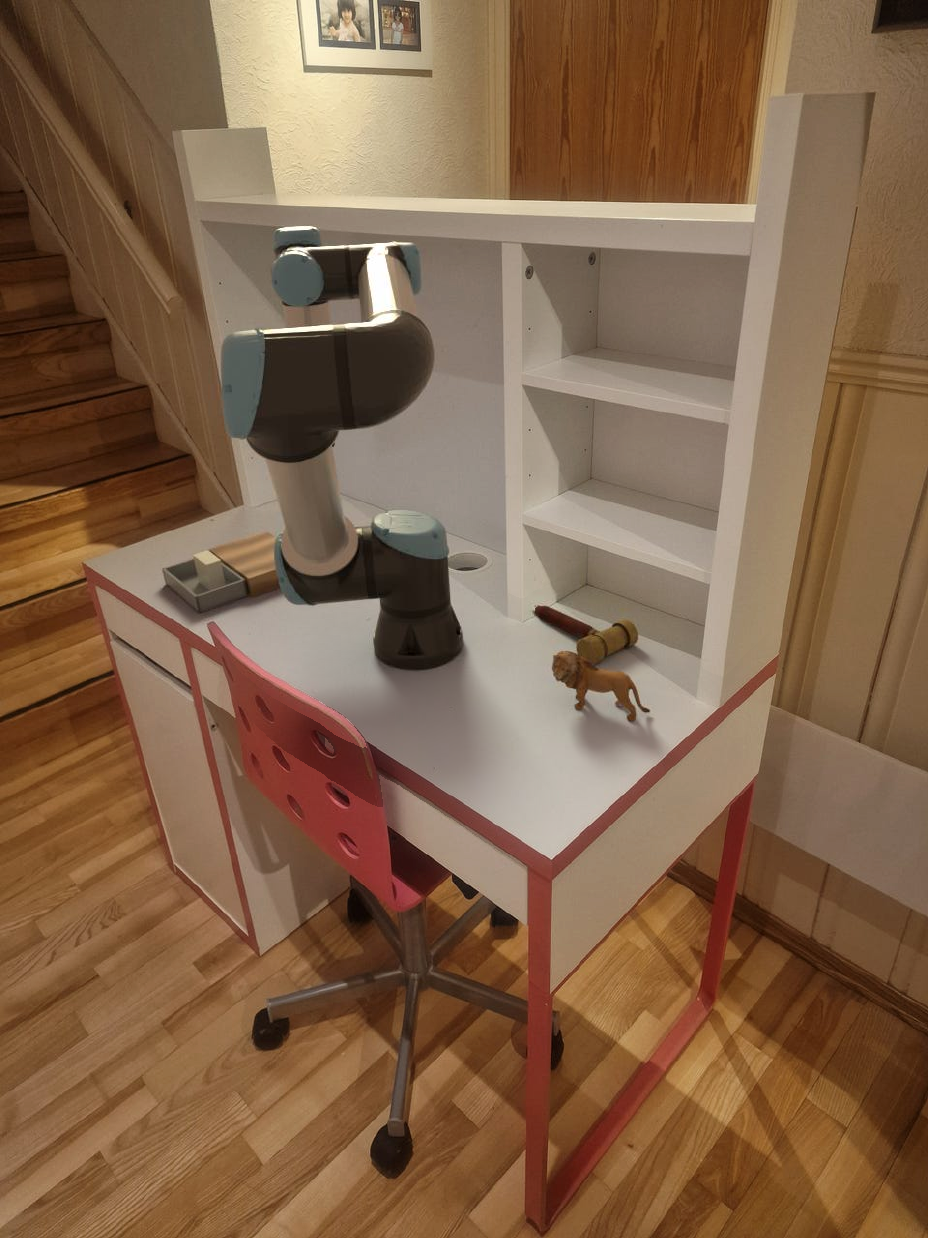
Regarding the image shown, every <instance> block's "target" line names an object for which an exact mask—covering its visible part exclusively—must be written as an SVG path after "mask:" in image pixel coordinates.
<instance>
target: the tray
mask: <svg viewBox="0 0 928 1238" xmlns="http://www.w3.org/2000/svg"><path fill="white" fill-rule="evenodd" d="M221 564H222V569H223V573H224V578H225V583H226V585H225V586H222V587H219V588H216V589H213V590H211V591H209V590H208V589H207V588H205V587H204V586H203V585H202V584H201V583H199V579H198V575H197V570H196V566H195V561H194V557H193V558H191V559H188V560H185V561H181V562H178V563H175V564H172V565H168V566H167V567H163V568H161V570H162V574H163V579H164V582H165V585H166V586H167V587H168V588H169V589H170V590H172V591H173V592H174V593H175V594H176V595H177V596H179V597H180V599H182V600H183V601H184V602H186V603H187V605H189V606H190V607H191V608H192V609H193V610H195V611H196V612H197V614H203V613H205V612H208V611H211V610H213V609H216V608H218V607H222V606H224V605H226V604H229V603H232V602H237V601H239V600H241V599H244V598H247V597H249V594H248V591H247V585H246V580H245V579H244V578H242V577H241V576H240V575H238V574H237V573H236V572H234V571H233V570H232V569H230V568H229V567H228V566H226V565H225V564H224V563H222V562H221Z"/></svg>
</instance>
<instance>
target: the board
mask: <svg viewBox="0 0 928 1238" xmlns="http://www.w3.org/2000/svg"><path fill="white" fill-rule="evenodd" d="M277 537H278V536H275V535H274V534H272V533H271V532H269V531H267V530H265V531H261V532H258V533H256V534H252V535H248V536H245V537H242V538H239V539H235V540H234V541H230V542H226V543H223V544H221V545H217V546H214V547H210V548H208V551H209V552H211V553H212V554H213V555H215V556H216V557H217V558H219V559H220V560H221V562H222V563H224V564H225V565H226V566H228V567H229V568H230V569H232V570H233V571H234V572H236V573H237V574H238V575H240V576H241V577H242V578H244V579H245V580H246V585H247V591H248V596H250V597H251V598H255V597H257V596H260V595H262V594H266V593H268V592H271V591H274V590H276V589H279V588H281V587H280V584H279V578H278V576H277V573H276V568H275V561H274V544H275V540H276V538H277ZM270 590H271V591H270ZM267 591H268V592H267ZM265 592H266V593H265Z"/></svg>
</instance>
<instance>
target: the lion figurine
mask: <svg viewBox="0 0 928 1238" xmlns="http://www.w3.org/2000/svg"><path fill="white" fill-rule="evenodd" d="M552 658H553V660H552V664H551V670H552V673H553V674H552V675H553V677H554V678H555V681H556V682H561V683H563V684H565V686H566V688H568V689H573V690H575V692H576V694H575V699H576V700H578V703H577V702H576V703H575V704H574V705H573V706H574V708H575V709H576V710H578V711H580V710H582V709H583V708H584V707H585V705H586V700H585V699H586V695H587V694H588V690H589V691H591V692H595V693H599V694H605V693H610V692H613V693H614V695H615V697H616V699H617V700H616V701H615V702H614V704H615V706H616V707H619V708H620V707H624V708H625V709H626V710H627V711H628V712H629V713H630V714H627V715H626V719H627V720H628V722H634V721H635V720H636V718H637V716H638V715H637V708H636V706H635V705H634V704H633V702H632V701H631V699H630V690H632V693H633V696H634V700H635V702H636V704H637V707H638V708H639V710H640V711H641V712H644V714H646V713H650V712H651V710H650V709H649V708H647V707H644V706H643V705H642V703H641V700H640V697H639V696H640V695H639V692H638V689H637V686H636V684H635V683H634V681H633V680H632V678H631V676H630V675H628V674H627V673H625V672H623V671H622V670H620V671H619V670H608V669H607V670H606V669H602V668H598V667H595V666H594V665H595V664H594V665H593V664H592V663H591V662H590V661H588V660H587V659H585V658H584V657H582V656H579V654H578V653H576V652H574V651H573V652H572V651H571V650H570V651H569V650H560V651H558V652H557V653H556V654H554V655H553V657H552Z"/></svg>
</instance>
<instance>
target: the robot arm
mask: <svg viewBox="0 0 928 1238" xmlns="http://www.w3.org/2000/svg"><path fill="white" fill-rule="evenodd" d="M272 238H273V252H274V254H275V255H274V256H275V259H273V263H272V264H271V269H270V283H271V285H272V289H273V290H274V292H275V294H276V296H277V298H278V299H280V300H281V302H282V310H283V311H282V312H283V318H284V325H285V328H273V329H271V328H270V329H263V328H262V327H256V328H254V329H249V330H241V331H234V332H232V333H229V334H228V335H226V336H225V338H224V339H223V341H222V343H221V347H220V377H221V380H220V381H221V397H222V411H223V421H224V422H223V423H224V428H225V432H226V434H227V435H228V437H230V438H232V439H239V440H240V441H241V440H245V439H246V441H247V443H248V445H249V447H250V448H251V449H252V451H253V452H254V453H256V455H258V456H259V457H261V458H262V459H264V460H265V462H266V466H267V470H268V473H269V476H270V479H271V483H272V486H273V490H274V493H275V496H276V499H277V503H278V507H279V510H280V513H281V515H282V516H281V517H282V519H283V523H284V526H285V529H284V530H283V532H282V533H280V534H279V535H278V536H276V537H277V538H276V540H275V544H274V561H275V568H276V573H277V576H278V578H279V584H280V587H279V588H280V590H281V592H282V594H283V596H284V598H285V599H286V601H288V602H289V603H291V604H293V605H296V606H304V605H306V606H316V605H317V606H318V605H322V604H333V603H345V602H354V601H363V600H364V601H366V600H376V599H379V605H380V606H379V607H380V609H379V613H378V617H377V621H376V626H375V630H374V633H373V639H372V640H373V651H374V655H375V656H376V658H378V660H379V661H381V662H382V663H384V664H385V665H388V666H390V667H393V668H396V669H401V670H411V671H412V670H415V671H417V670H427V669H432V668H437V667H439V666H442V665H445V664H447V663H449V662H451V661H452V660H454V659H455V658H456V657H458V656H459V654H460V653H461V651H462V650H463V647H464V635H463V634H464V632H463V628H462V626H461V624H460V622H459V619H458V617H457V615H456V613H455V612H456V611H455V610H454V608H453V606H452V602H451V601H452V599H451V586H450V585H451V584H450V571H449V570H450V569H449V554H450V547H449V545H448V537H447V531H446V528H445V527H444V525H443V523H442V522H441V521H440V520H438V519H437V518H436V517H434V516H432V515H430V514H427V513H424V512H421V511H416V510H411V509H392V510H386V511H385V512H380V513H378V514H376V515H375V516H373V519H372V521H371V523H370V525H368V526H367V525H365V526H355V525H354V524H353V522H352V521H351V520H350V519H349V518H348V517H347V516H345V513H344V507H343V502H342V496H341V495H342V494H341V491H340V484H339V478H338V472H337V467H336V461H335V456H334V450H333V449H334V447H335V445H336V444H335V443H336V441H337V438H338V437H339V433H340V432H341V431H350V430H351V431H352V430H361V429H363V430H364V429H369V428H373V427H376V426H377V427H378V426H380V425H383V424H384V423H387V422H388V421H390V420H392V419H395V418H396V417H398V416H399V415H400V414H403V412H405V411H406V410H407V409H408V408H409V407H410V406H411V405H412V404H413V403H414V402H416V400H417V399H418V398H419V396H421V394H422V392H423V391H424V390H425V389H426V387H427V385H428V382H429V380H430V379H431V377H432V374H433V370H434V366H435V347H434V342H433V339H432V335H431V333H430V331H429V328H428V327H427V325H426V324H425V323H424V322H423V320H422V319H421V318H419V314H418V310H417V306H416V302H415V301H416V300H415V297H414V296H416V295H418V294H419V293H420V292H421V289H422V270H421V269H422V267H421V258H420V254H419V253H420V251H419V248H418V246H417V245H416V244H415V243H414V242H397V241H391V242H386V243H385V242H383V243H382V242H381V243H369V244H368V243H367V244H356V245H355V244H351V245H336V246H335V245H331V246H324V245H323V242H322V241H323V240H322V235H321V231H320V229H318V228H317V227H314V226H308V225H307V226H302V225H301V226H288V227H281V228H277V229H276V230H275V231H274V232H273V237H272ZM346 300H348V301H349V300H358V301H359V313H360V322H356V323H355V322H354V323H353V322H352V323H343V324H332V317H331V310H330V302H329V301H332V302H333V301H346Z"/></svg>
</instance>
